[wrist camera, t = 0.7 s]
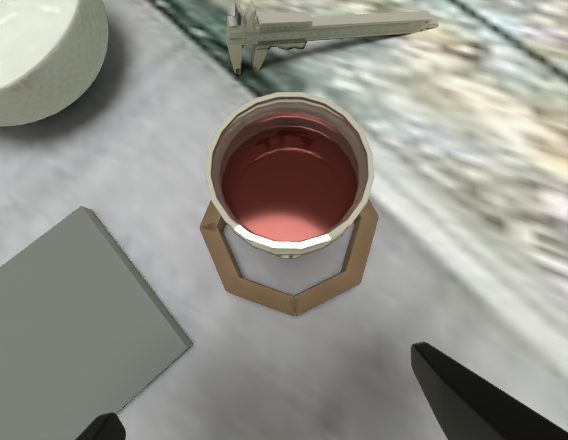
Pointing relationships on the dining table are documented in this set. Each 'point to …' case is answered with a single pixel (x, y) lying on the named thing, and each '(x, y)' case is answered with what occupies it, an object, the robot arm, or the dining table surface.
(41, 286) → the slate board
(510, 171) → the dining table surface
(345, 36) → the caliper
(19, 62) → the cereal bowl
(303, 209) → the wineglass
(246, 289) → the ring holder
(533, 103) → the dining table surface
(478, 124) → the dining table surface
